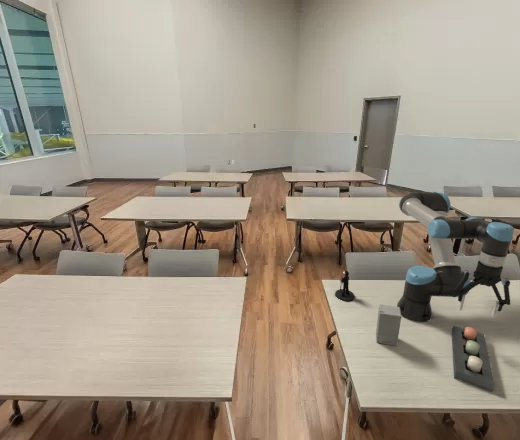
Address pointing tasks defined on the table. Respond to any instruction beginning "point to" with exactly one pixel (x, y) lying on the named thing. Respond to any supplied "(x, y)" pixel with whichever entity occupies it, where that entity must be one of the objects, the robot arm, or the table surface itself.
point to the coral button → (470, 333)
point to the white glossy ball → (474, 363)
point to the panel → (461, 359)
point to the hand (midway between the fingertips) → (476, 312)
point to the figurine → (342, 293)
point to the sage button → (472, 347)
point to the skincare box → (388, 324)
